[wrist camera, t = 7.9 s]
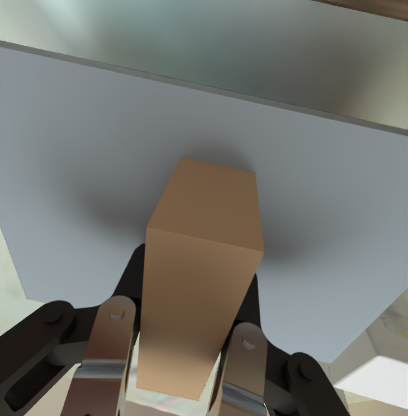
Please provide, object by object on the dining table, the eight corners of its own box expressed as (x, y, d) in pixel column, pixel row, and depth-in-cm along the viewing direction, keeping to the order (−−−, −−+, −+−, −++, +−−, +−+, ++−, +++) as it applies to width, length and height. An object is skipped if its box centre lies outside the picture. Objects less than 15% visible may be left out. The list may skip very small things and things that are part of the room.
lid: (503, 150, 10) (753, 258, 5) (325, 345, 18) (356, 453, 13) (-40, 31, 10) (-311, 26, 5) (38, 284, 18) (-33, 371, 13)
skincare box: (421, 285, 28) (500, 394, 20) (380, 316, 32) (432, 419, 23) (336, 257, 28) (381, 358, 19) (305, 292, 31) (330, 390, 23)
